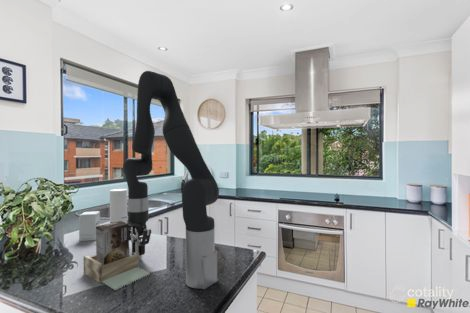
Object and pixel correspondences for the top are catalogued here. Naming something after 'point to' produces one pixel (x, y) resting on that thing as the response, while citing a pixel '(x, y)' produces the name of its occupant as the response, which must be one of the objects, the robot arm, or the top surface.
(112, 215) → the cylindrical container
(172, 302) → the top surface
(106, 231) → the coffee box
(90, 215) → the supplement box
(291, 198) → the top surface
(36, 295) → the top surface
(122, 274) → the mat
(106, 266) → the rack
